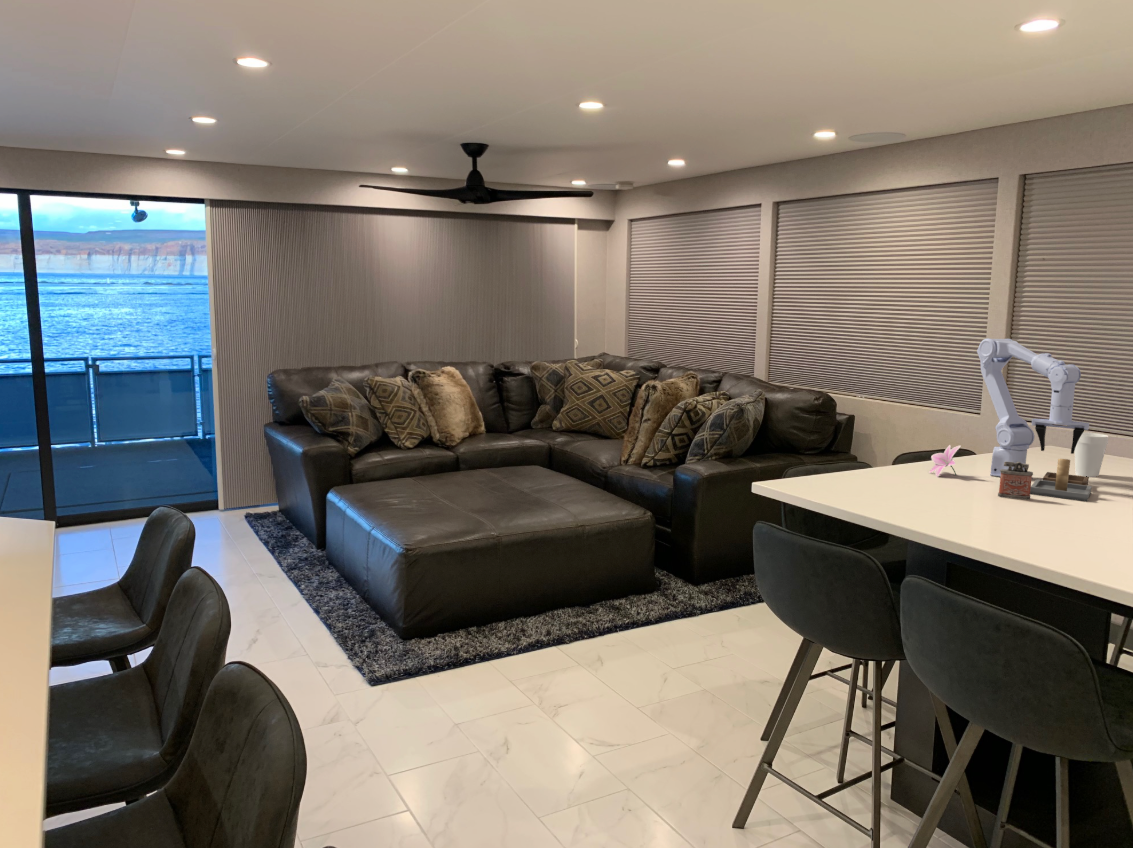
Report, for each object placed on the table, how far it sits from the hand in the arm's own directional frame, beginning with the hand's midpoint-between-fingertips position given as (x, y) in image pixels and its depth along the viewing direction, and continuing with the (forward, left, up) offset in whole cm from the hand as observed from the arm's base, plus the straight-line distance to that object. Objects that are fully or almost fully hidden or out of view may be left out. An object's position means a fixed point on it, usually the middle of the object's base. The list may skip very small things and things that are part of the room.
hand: (1057, 451), depth 253 cm
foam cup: (+7, +28, -11) cm, 31 cm away
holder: (+3, +4, -10) cm, 12 cm away
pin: (+3, -10, -10) cm, 14 cm away
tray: (+3, -10, -10) cm, 14 cm away
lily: (-30, -4, -11) cm, 32 cm away
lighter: (-7, -25, -11) cm, 28 cm away
